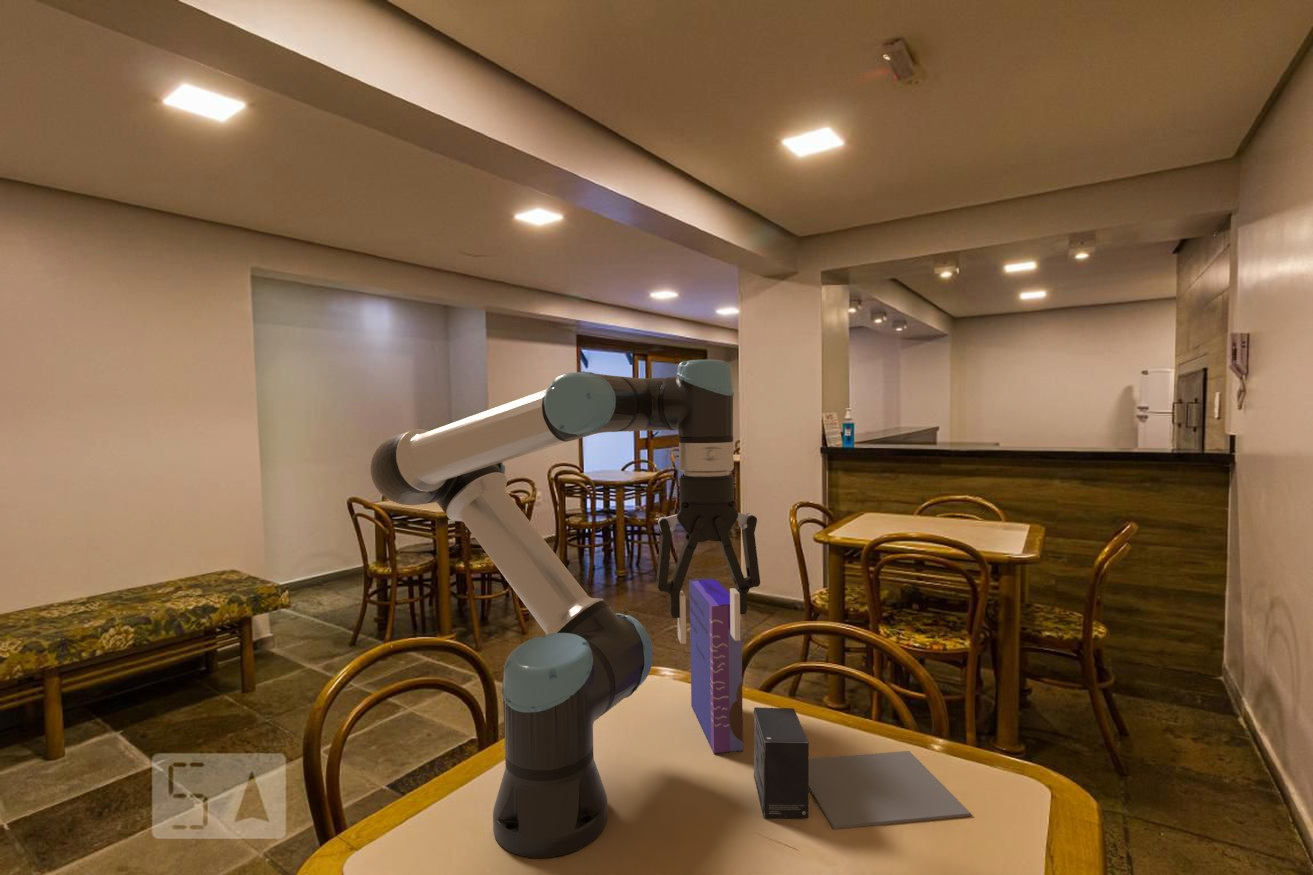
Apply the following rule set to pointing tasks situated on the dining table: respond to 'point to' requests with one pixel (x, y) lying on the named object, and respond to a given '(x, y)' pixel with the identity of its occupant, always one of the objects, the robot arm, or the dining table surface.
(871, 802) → the mat
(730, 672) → the cereal box
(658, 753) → the dining table surface
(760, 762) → the small box
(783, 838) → the dining table surface
